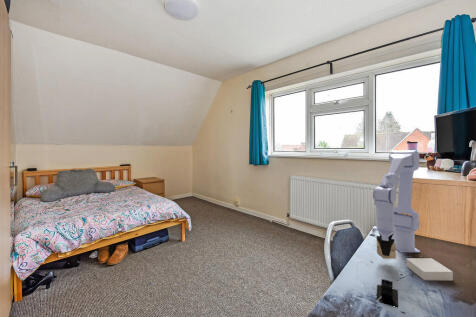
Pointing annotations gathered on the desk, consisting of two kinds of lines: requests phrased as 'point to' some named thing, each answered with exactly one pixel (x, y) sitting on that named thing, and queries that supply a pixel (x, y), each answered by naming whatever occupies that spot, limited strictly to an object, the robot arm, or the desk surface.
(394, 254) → the oak block
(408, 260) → the base
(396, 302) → the black mounting plate
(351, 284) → the desk surface
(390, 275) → the desk surface
